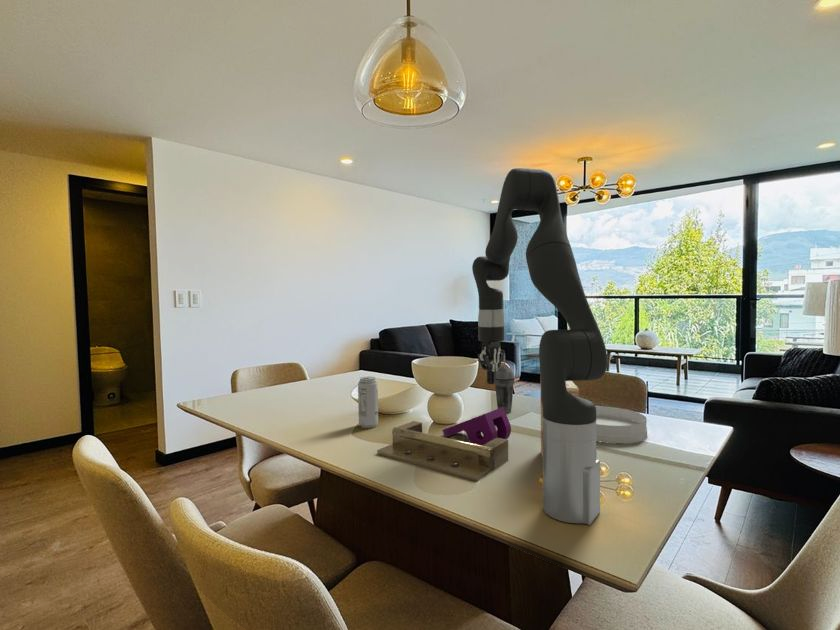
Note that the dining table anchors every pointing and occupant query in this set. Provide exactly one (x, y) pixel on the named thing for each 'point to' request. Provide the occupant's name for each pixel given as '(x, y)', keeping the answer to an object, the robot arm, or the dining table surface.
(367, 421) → the energy drink can
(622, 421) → the dish
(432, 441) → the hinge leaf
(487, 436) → the mounting bracket
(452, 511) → the dining table surface
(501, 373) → the beverage cup
